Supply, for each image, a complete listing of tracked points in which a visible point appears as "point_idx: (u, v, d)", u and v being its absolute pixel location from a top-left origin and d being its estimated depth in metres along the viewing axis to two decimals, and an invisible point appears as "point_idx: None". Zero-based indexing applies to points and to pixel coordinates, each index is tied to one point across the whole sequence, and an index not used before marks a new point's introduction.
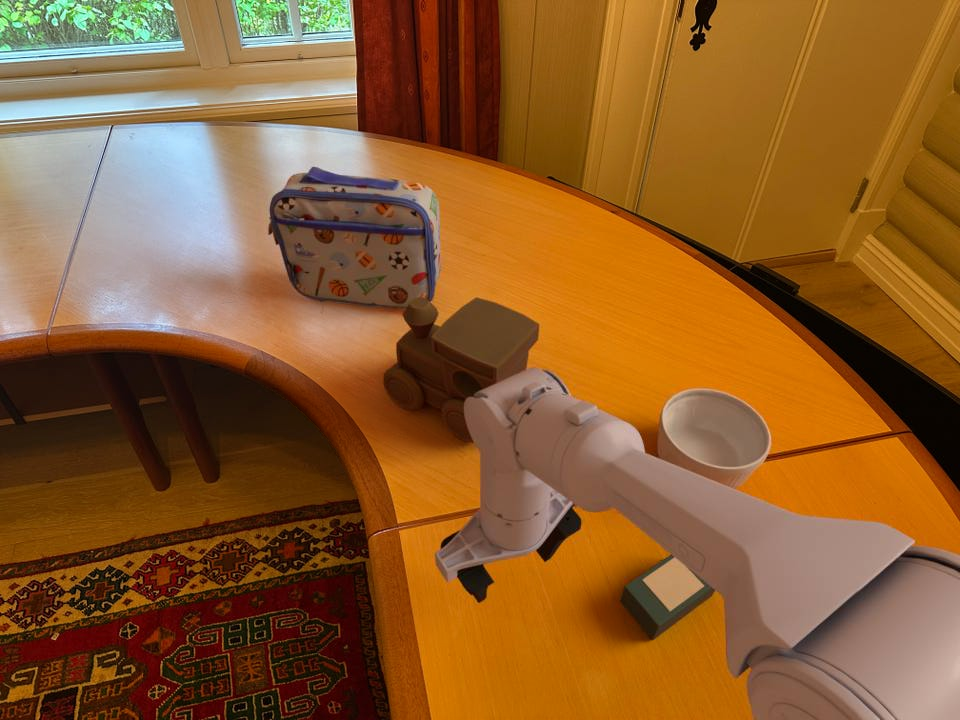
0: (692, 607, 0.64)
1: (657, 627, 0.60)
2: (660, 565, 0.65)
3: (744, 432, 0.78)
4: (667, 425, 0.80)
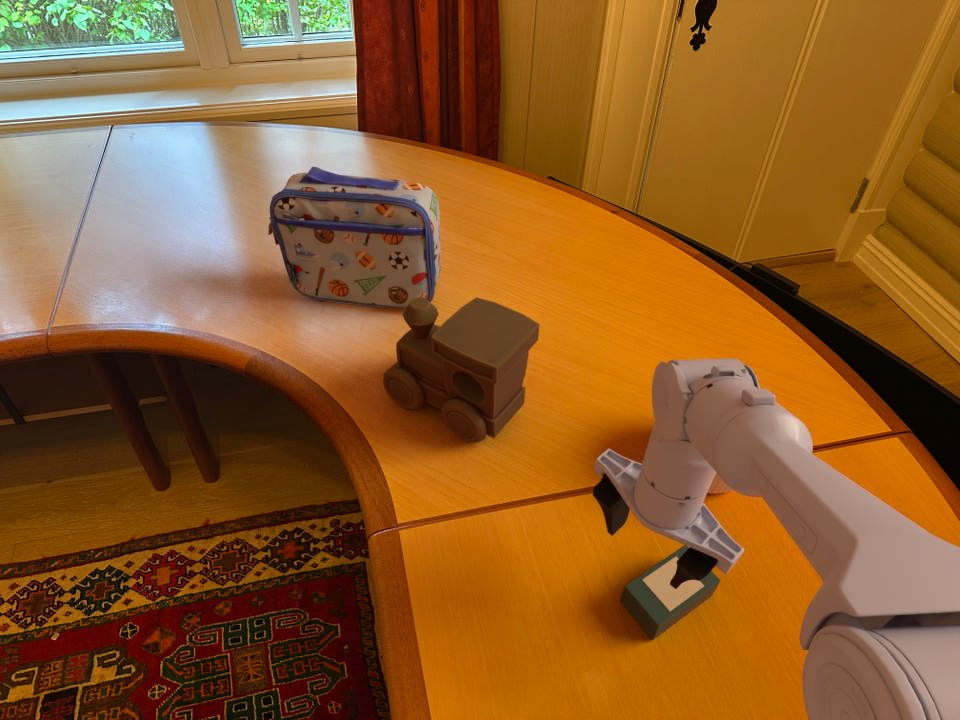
0: (692, 607, 0.64)
1: (657, 627, 0.60)
2: (660, 565, 0.65)
3: None
4: None
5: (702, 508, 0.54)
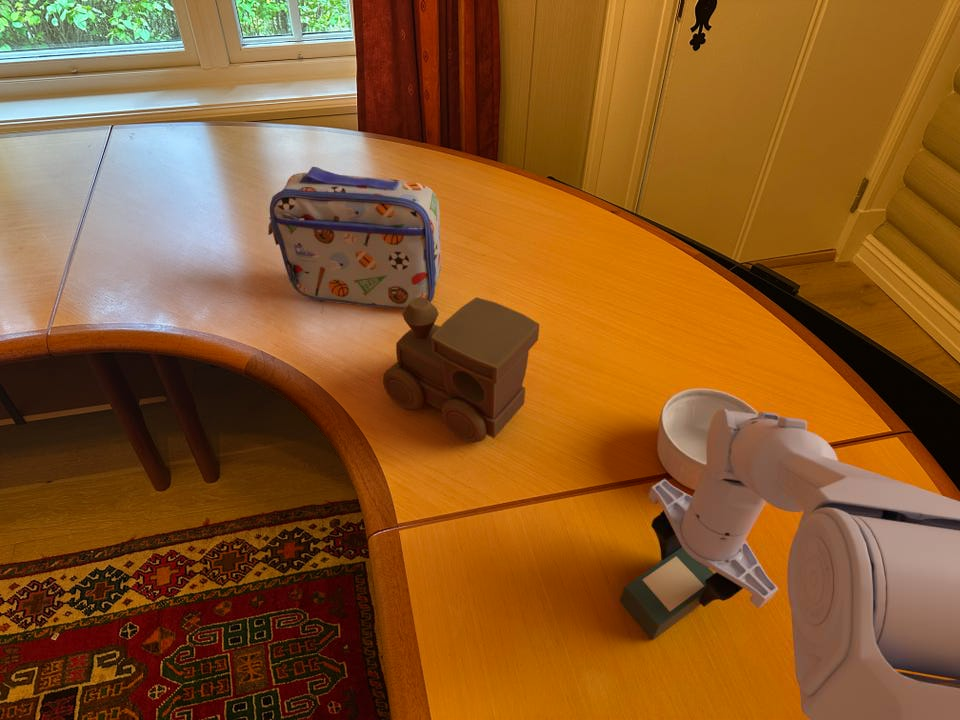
0: (692, 607, 0.64)
1: (657, 627, 0.60)
2: (660, 565, 0.65)
3: None
4: (667, 425, 0.80)
5: (744, 545, 0.59)
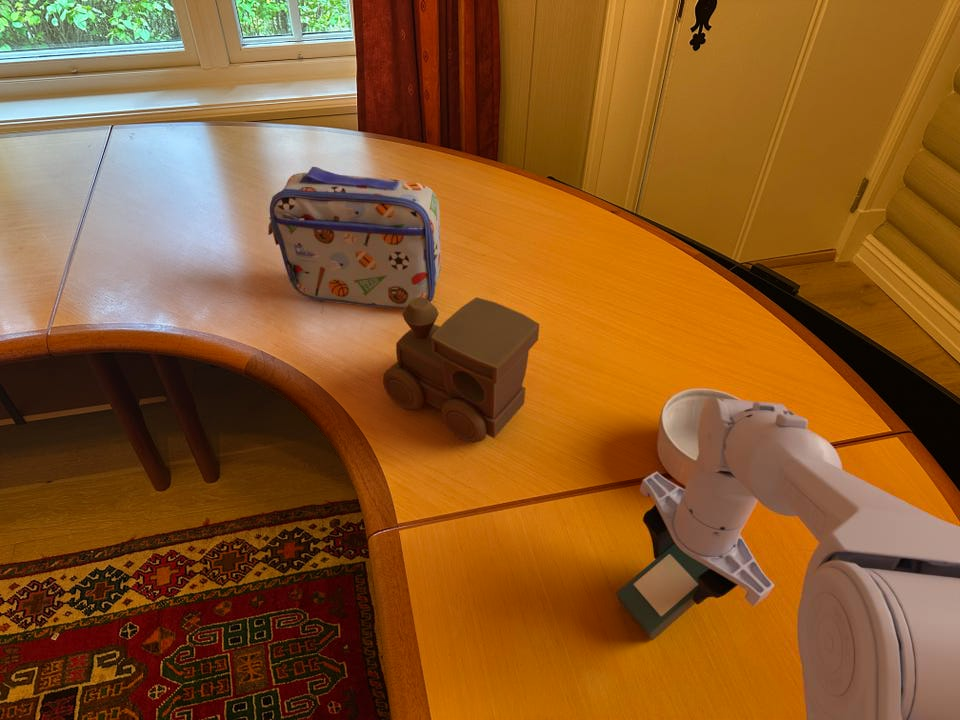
0: (691, 603, 0.62)
1: (649, 634, 0.60)
2: (652, 565, 0.63)
3: None
4: (667, 425, 0.80)
5: (739, 540, 0.56)
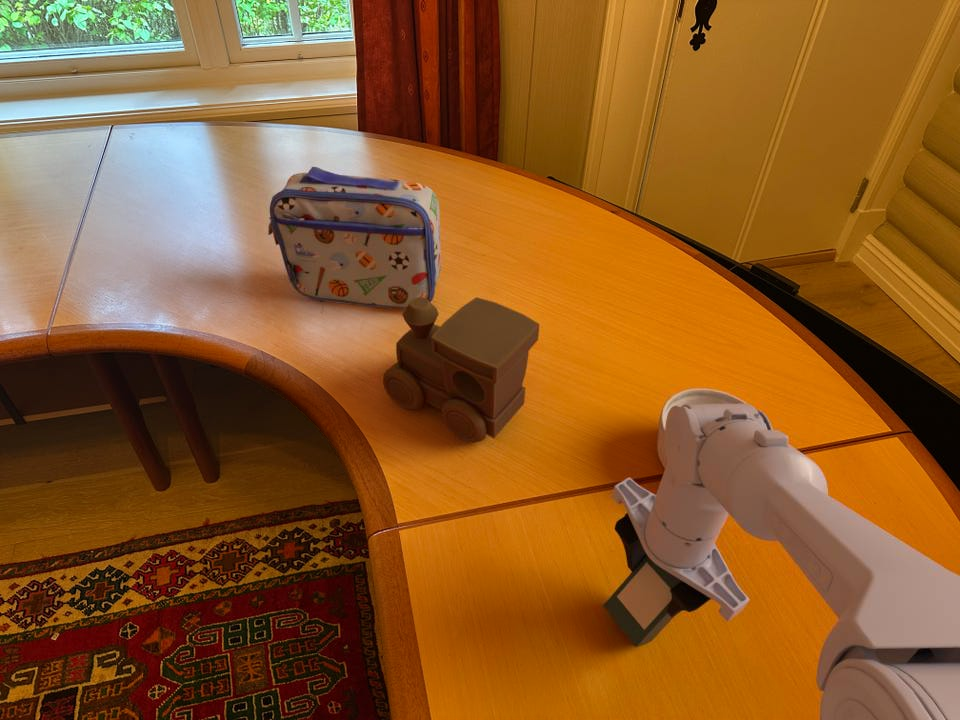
0: None
1: None
2: (632, 575, 0.61)
3: None
4: None
5: (714, 551, 0.53)
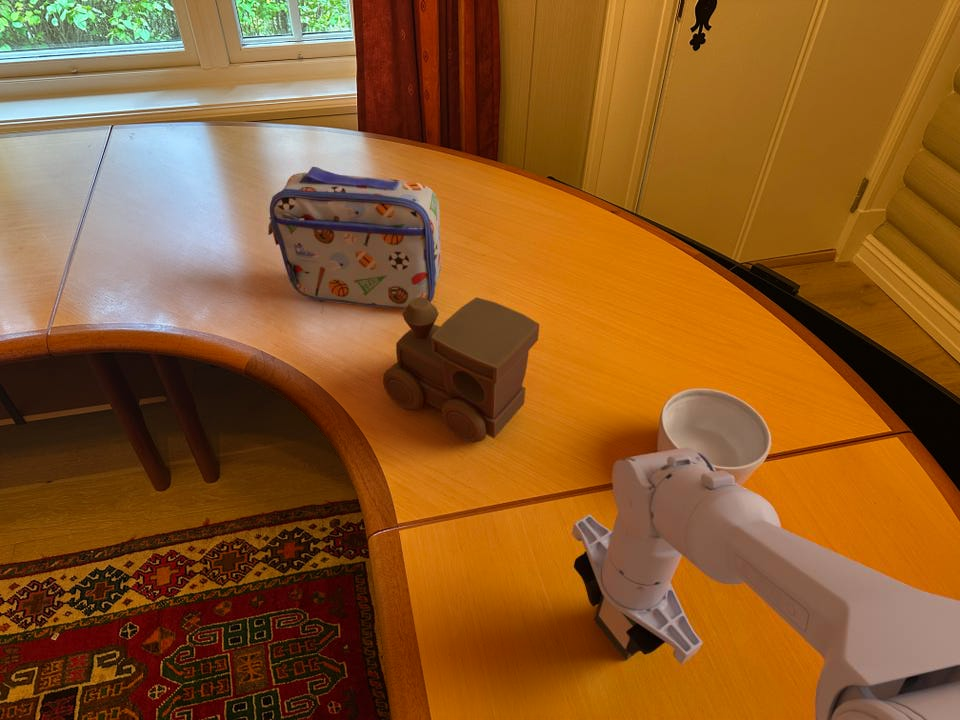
0: None
1: None
2: (601, 601, 0.61)
3: (744, 432, 0.78)
4: (667, 425, 0.80)
5: (670, 592, 0.53)
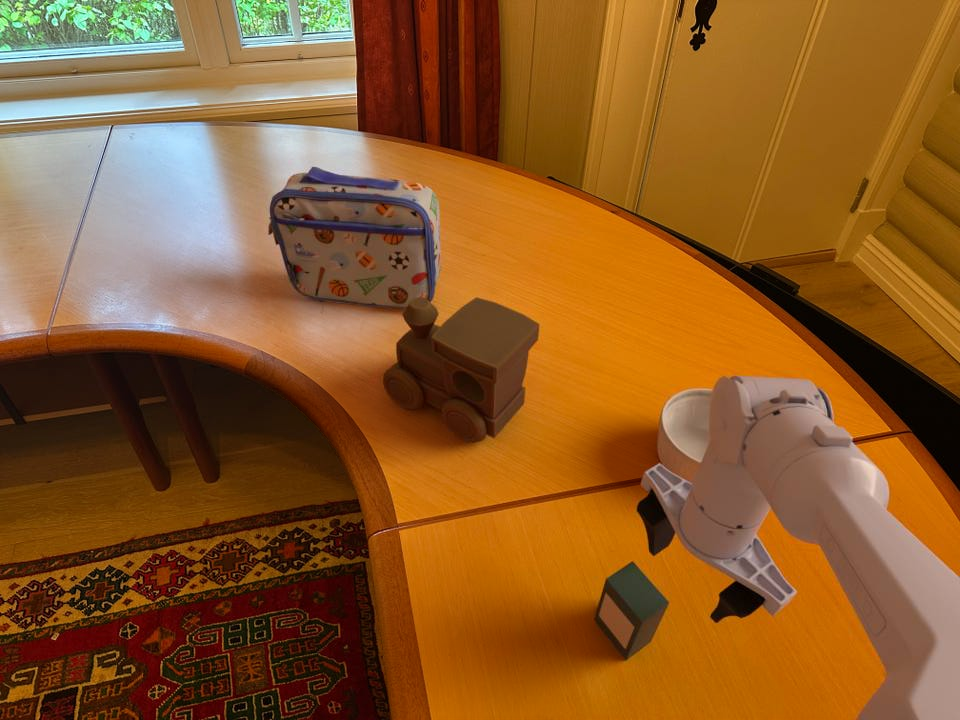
0: (652, 625, 0.58)
1: None
2: (601, 601, 0.61)
3: None
4: (667, 425, 0.80)
5: (755, 540, 0.49)
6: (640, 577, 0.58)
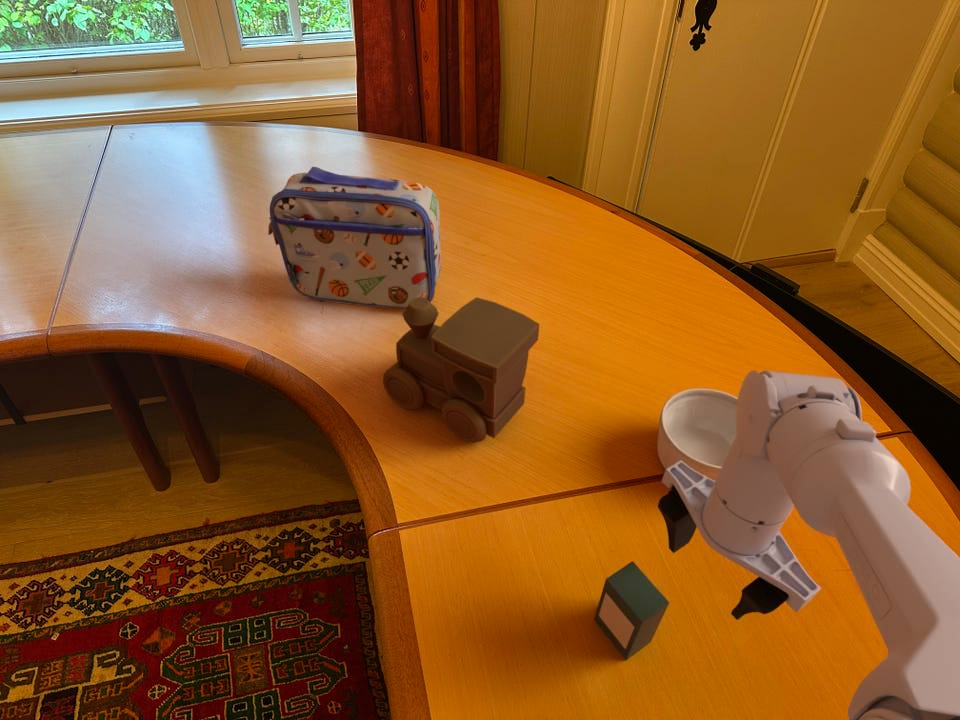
0: (652, 625, 0.58)
1: None
2: (601, 601, 0.61)
3: None
4: (667, 425, 0.80)
5: (777, 537, 0.50)
6: (640, 577, 0.58)
